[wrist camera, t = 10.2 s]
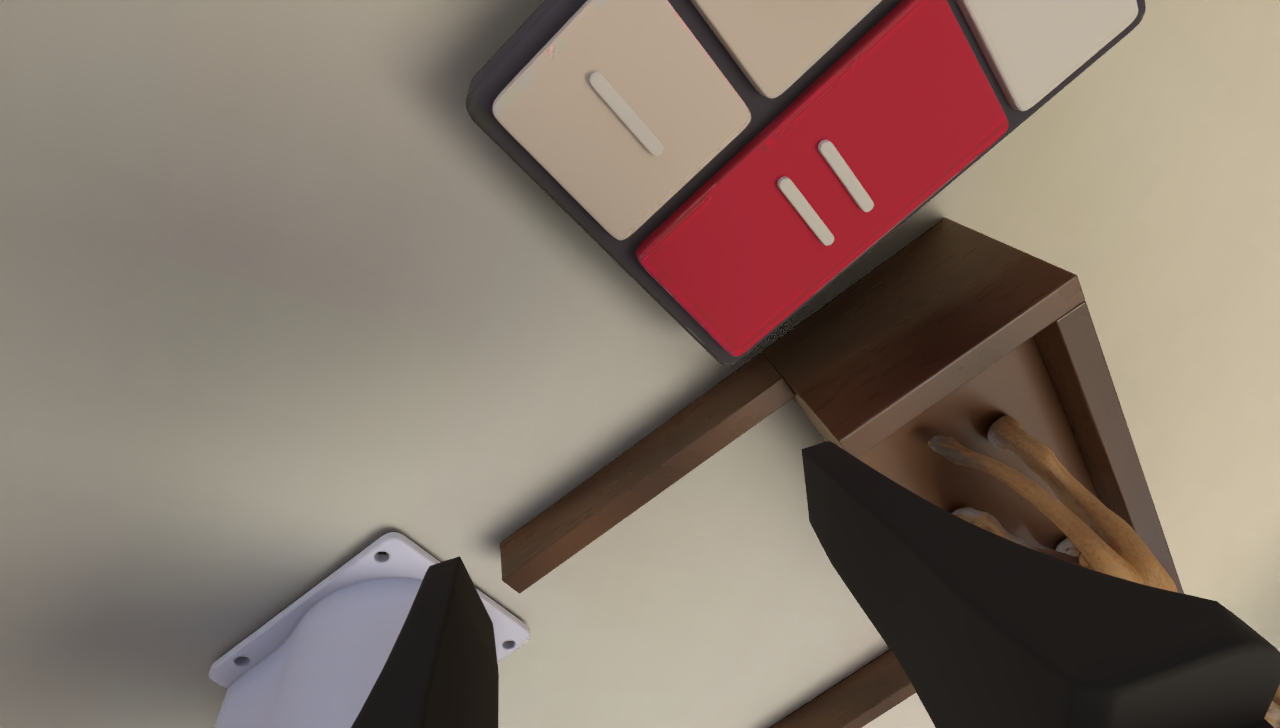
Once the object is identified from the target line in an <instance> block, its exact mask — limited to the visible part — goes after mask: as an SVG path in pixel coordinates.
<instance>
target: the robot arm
mask: <svg viewBox="0 0 1280 728" xmlns="http://www.w3.org/2000/svg"><path fill="white" fill-rule="evenodd" d="M802 456H803V465H804V474H805V483H806V492H807V502H808V511H809V520H810V523H811V525H812V527H813V529H814V531H815V533H816V535H817V537H818V539H819V541H820V543H821V545H822V547H823V548H824V550H825V552H826V554H827V556H828V558H829V560H830V561H831V563H832V565H833V566H834V568H835V569H836V571H837V572H838V574H839V575H840V577H841V578H842V580H843V581H844V583H845V584H846V586H847V587H848V589H849V590H850V592H851V593H852V594H853V596H854V597H855V599H856V600H857V602H858V603H859V605H860V606H861V608H862V609H863V610H864V612H865V613H866V615H867V616H868V618H869V619H870V621H871V622H872V623H873V625H874V626H875V628H876V629H877V631H878V632H879V634H880V635H881V637H882V638H883V639H884V641H885V642H886V644H887V645H888V647H889V648H890V650H891V651H892V652H893V654H894V656H895V657H896V659H897V660H898V662H899V663H900V665H901V667H902V668H903V670H904V671H905V673H906V675H907V676H908V678H909V680H910V682H911V684H912V685H913V687H914V689H915V691H916V693H917V694H918V696H919V698H920V700H921V701H922V703H923V705H924V707H925V709H926V710H927V712H928V714H929V716H930V718H931V719H932V721H933V723H934V725H935V727H936V728H1274V727H1273V726H1272V725H1271V724H1270V723H1269V722H1268V721H1266V720H1265V719H1264V718H1265V715H1266V713H1267V711H1268V709H1269V707H1270V705H1271V702H1272V700H1273V698H1274V696H1275V694H1276V692H1277V689H1278V687H1279V685H1280V652H1279V651H1278V650H1277V649H1276V648H1275V647H1274V646H1273V645H1271V644H1270V643H1269V642H1268V641H1267V640H1265V639H1264V638H1263V637H1262V636H1260V635H1259V634H1258V633H1257V632H1256V631H1254V630H1253V629H1252V628H1251V627H1250V626H1248V625H1247V624H1246V623H1245V622H1244V621H1242V620H1241V619H1240V618H1238V617H1237V616H1236V615H1234V614H1233V613H1232V612H1230V611H1229V610H1228V609H1226V608H1225V607H1224V606H1222V605H1221V604H1219V603H1218V602H1217V601H1212V600H1208V599H1204V598H1199V597H1195V596H1191V595H1186V594H1182V593H1177V592H1173V591H1169V590H1164V589H1160V588H1156V587H1151V586H1147V585H1143V584H1139V583H1136V582H1132V581H1129V580H1125V579H1122V578H1118V577H1115V576H1111V575H1108V574H1104V573H1101V572H1097V571H1094V570H1091V569H1088V568H1085V567H1082V566H1078V565H1075V564H1072V563H1069V562H1066V561H1064V560H1061V559H1058V558H1055V557H1052V556H1050V555H1047V554H1044V553H1041V552H1038V551H1035V550H1033V549H1030V548H1028V547H1025V546H1023V545H1020V544H1017V543H1015V542H1013V541H1010V540H1008V539H1006V538H1003V537H1001V536H999V535H996V534H994V533H992V532H989V531H987V530H985V529H982V528H980V527H978V526H976V525H974V524H972V523H969V522H967V521H965V520H963V519H961V518H959V517H957V516H955V515H953V514H951V513H950V512H948V511H946V510H944V509H942V508H940V507H938V506H936V505H934V504H933V503H931V502H929V501H927V500H925V499H923V498H922V497H920V496H918V495H917V494H915V493H913V492H911V491H910V490H908V489H906V488H905V487H903V486H901V485H899V484H898V483H896V482H894V481H893V480H891V479H889V478H888V477H886V476H884V475H883V474H881V473H880V472H878V471H877V470H875V469H873V468H872V467H870V466H869V465H867V464H865V463H864V462H862V461H861V460H859V459H858V458H856V457H855V456H853V455H851V454H850V453H848V452H847V451H845V450H844V449H842V448H841V447H839V446H838V445H836V444H834V443H833V442H831V441H827V442H824V443H821V444H817V445H814V446H811V447H808V448H805V449H802ZM383 551H384V552H387V553H388V554H386V555H380V554H378V552H383ZM529 638H530V631H529V627H528V626H527V625H526V624H525V623H524V622H522V621H521V620H519V619H518V618H517V617H515V616H514V615H513V614H511V613H510V612H508V611H507V610H506V609H504V608H503V607H502V606H500V605H499V604H497V603H496V602H495V601H493V600H492V599H491V598H489V597H488V596H486V595H485V594H484V593H482V592H481V591H480V590H478V589H477V588H475V586H474V584H473V582H472V580H471V578H470V576H469V574H468V572H467V570H466V568H465V566H464V564H463V562H462V560H461V558H460V557H457V558H453V559H450V560H447V561H444V562H440V561H438V560H437V559H436V558H434V557H433V556H432V555H430V554H429V553H427V552H426V551H425V550H423V549H422V548H421V547H419V546H418V545H416V544H415V543H414V542H412V541H411V540H410V539H408V538H407V537H405V536H404V535H402V534H400V533H396V532H391V533H387V534H385V535H383V536H382V537H380V538H379V539H378V540H376V541H375V542H374V543H372V544H371V545H370V546H368V547H367V548H366V549H364V550H363V551H362V552H360V553H359V554H358V555H356V556H355V557H354V558H352V559H351V560H350V561H348V562H347V563H346V564H344V565H343V566H342V567H340V568H339V569H338V570H336V571H335V572H334V573H332V574H331V575H330V576H328V577H327V578H326V579H324V580H323V581H322V582H320V583H319V584H318V585H316V586H315V587H314V588H312V589H311V590H310V591H308V592H307V593H306V594H304V595H303V596H302V597H300V598H299V599H298V600H296V601H295V602H294V603H292V604H291V605H290V606H288V607H287V608H286V609H284V610H283V611H282V612H280V613H279V614H278V615H276V616H275V617H274V618H272V619H271V620H270V621H268V622H267V623H266V624H264V625H263V626H262V627H260V628H259V629H258V630H256V631H255V632H254V633H252V634H251V635H250V636H248V637H247V638H246V639H244V640H243V641H242V642H240V643H239V644H238V645H236V646H235V647H234V648H232V649H231V650H230V651H229V652H227V653H226V654H225V655H223V656H222V657H221V658H219V659H218V660H217V661H215V662H214V663H213V664H212V666H211V668H210V671H209V675H208V676H209V678H210V679H211V680H212V681H213V682H215V683H217V684H219V685H221V686H223V687H225V688H227V692H226V695H225V697H224V700H223V703H222V706H221V708H220V711H219V714H218V717H217V720H216V722H215V725H214V728H498V664H497V663H498V662H499V661H500V660H502V659H503V658H505V657H506V656H508V655H509V654H510V653H512V652H513V651H515V650H516V649H517V648H519V647H520V646H522V645H523V644H525V643H526V642H527V641H528V640H529ZM507 640H511V641H507ZM242 656H244V657H242Z"/></svg>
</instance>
